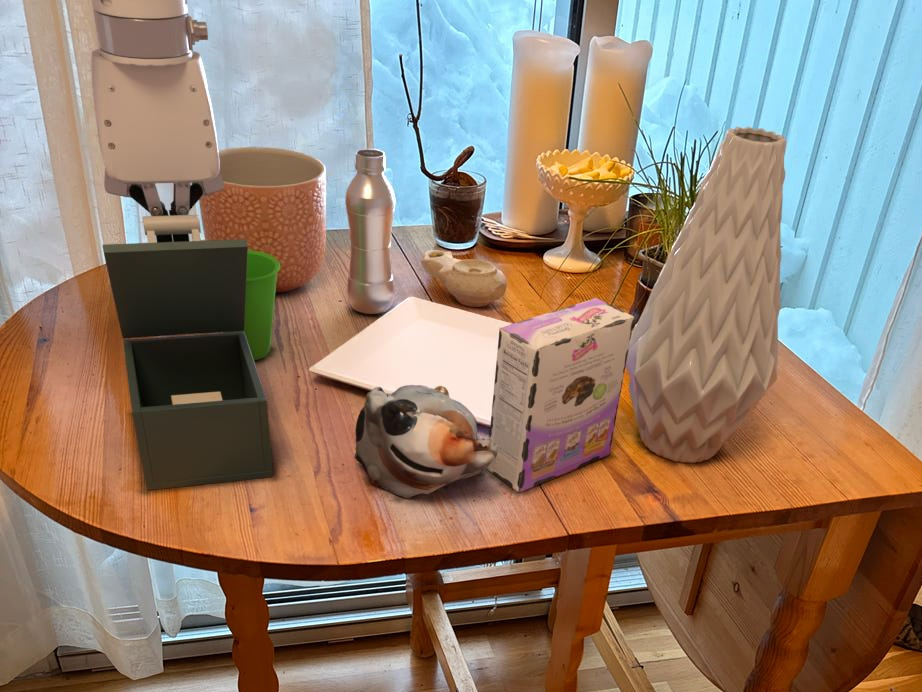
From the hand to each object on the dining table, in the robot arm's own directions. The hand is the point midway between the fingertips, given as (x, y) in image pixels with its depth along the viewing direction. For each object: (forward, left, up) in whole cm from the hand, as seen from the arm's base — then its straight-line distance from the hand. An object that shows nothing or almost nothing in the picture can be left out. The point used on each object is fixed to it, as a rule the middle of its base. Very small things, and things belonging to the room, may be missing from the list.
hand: (174, 255), depth 93 cm
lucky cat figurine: (+22, -15, -19) cm, 33 cm away
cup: (+8, +17, -19) cm, 27 cm away
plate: (+32, +8, -19) cm, 38 cm away
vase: (+53, -14, -19) cm, 58 cm away
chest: (0, -4, -19) cm, 19 cm away
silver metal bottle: (+26, +27, -19) cm, 42 cm away
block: (0, -6, -18) cm, 19 cm away
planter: (+14, +39, -19) cm, 46 cm away
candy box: (+36, -15, -19) cm, 43 cm away
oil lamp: (+40, +30, -19) cm, 54 cm away
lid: (0, -2, -3) cm, 4 cm away
